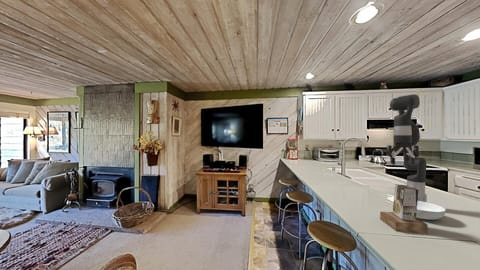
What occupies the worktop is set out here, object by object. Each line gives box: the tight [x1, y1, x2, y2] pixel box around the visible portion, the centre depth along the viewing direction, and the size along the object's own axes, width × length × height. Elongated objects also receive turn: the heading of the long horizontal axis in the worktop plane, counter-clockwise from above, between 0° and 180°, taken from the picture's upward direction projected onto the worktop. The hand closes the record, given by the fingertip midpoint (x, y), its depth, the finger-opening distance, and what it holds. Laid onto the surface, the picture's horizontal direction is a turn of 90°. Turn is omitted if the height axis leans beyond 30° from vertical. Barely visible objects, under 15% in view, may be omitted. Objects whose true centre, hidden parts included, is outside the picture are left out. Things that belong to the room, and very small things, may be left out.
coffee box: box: [392, 184, 419, 221], centre depth 104 cm, size 9×6×16 cm
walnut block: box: [379, 211, 429, 234], centre depth 104 cm, size 14×14×5 cm
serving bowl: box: [416, 201, 447, 221], centre depth 117 cm, size 21×21×7 cm
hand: (402, 164), depth 107 cm, fingers open, 8 cm apart
